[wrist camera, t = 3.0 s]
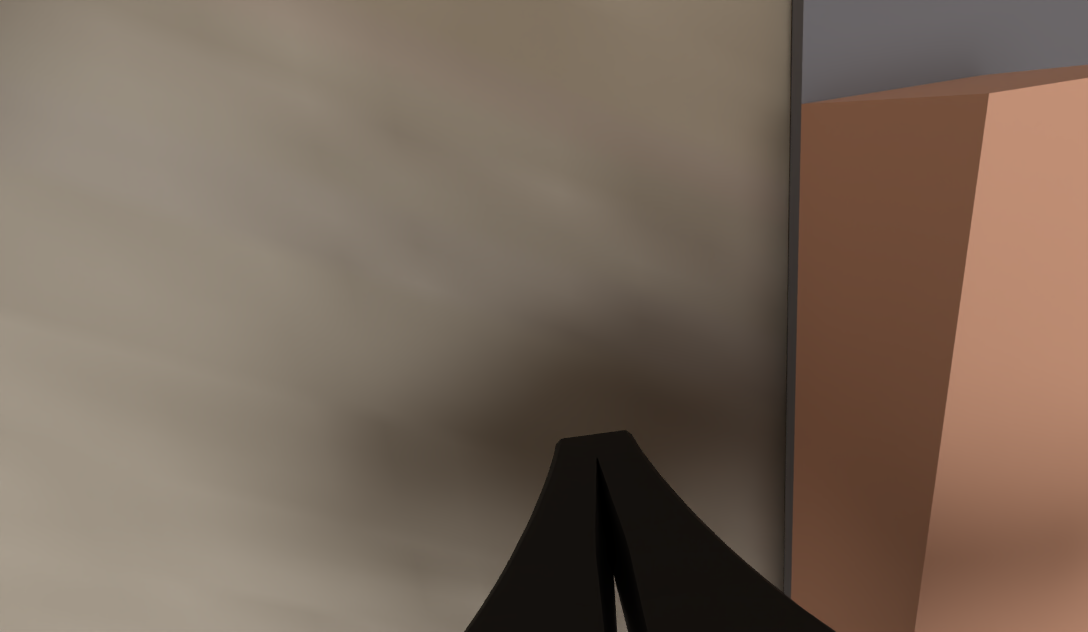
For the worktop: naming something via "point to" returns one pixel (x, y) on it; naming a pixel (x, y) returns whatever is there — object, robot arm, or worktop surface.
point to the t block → (944, 357)
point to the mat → (904, 61)
